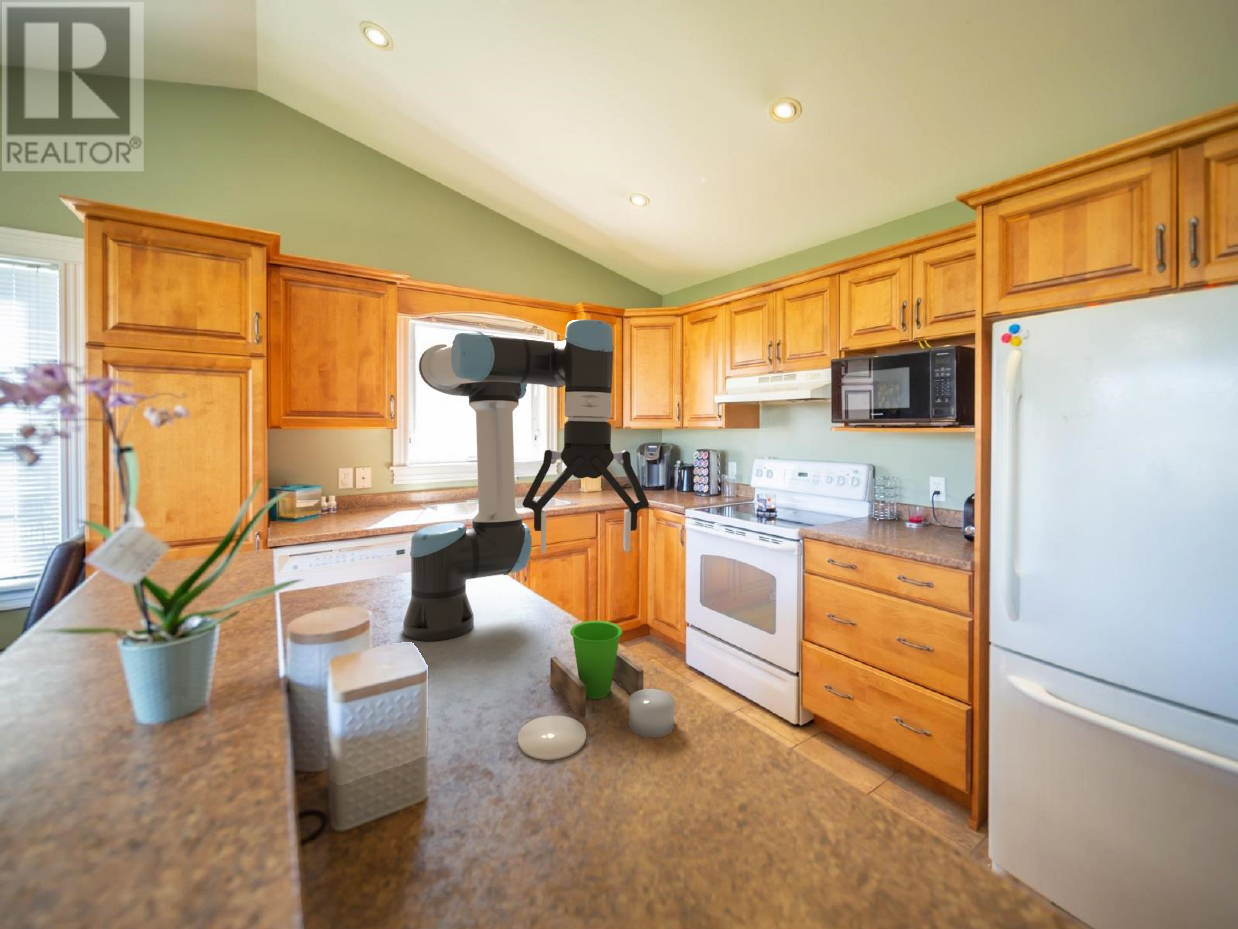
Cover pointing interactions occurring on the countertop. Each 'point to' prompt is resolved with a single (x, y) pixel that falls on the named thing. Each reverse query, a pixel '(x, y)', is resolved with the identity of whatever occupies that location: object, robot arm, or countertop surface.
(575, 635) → the cup
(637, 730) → the grey rounded puck
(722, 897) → the countertop surface
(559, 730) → the white oval pebble
